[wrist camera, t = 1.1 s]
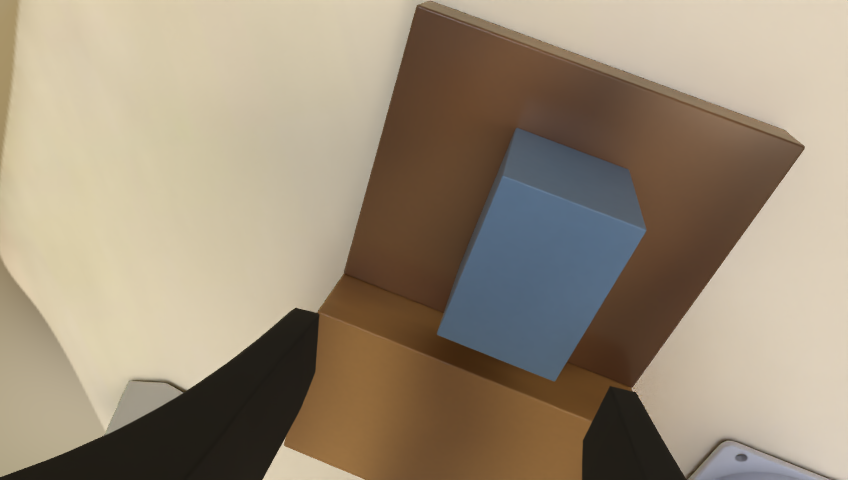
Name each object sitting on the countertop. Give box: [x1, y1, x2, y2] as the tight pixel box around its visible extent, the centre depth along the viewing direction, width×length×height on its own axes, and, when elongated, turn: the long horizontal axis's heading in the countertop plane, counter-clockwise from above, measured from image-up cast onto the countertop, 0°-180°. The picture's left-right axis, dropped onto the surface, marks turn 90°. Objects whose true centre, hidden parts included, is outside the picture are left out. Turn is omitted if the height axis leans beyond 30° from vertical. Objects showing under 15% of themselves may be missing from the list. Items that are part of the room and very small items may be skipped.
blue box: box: [437, 128, 646, 381], centre depth 19 cm, size 4×6×5 cm
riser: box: [284, 1, 805, 480], centre depth 23 cm, size 14×21×5 cm, turn 163°
